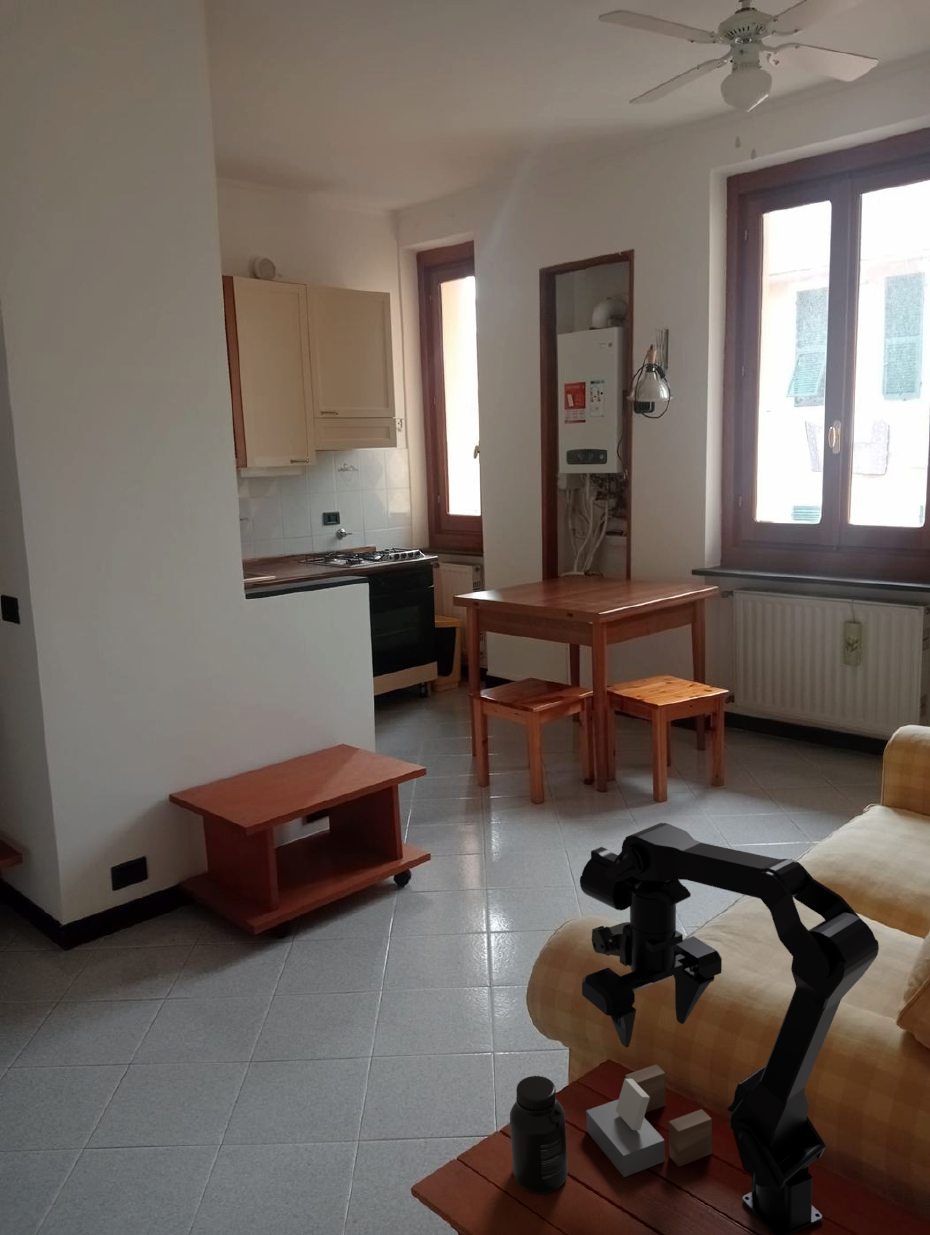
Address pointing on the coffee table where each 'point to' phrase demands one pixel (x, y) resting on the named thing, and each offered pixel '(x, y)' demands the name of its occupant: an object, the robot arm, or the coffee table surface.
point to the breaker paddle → (632, 1104)
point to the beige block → (690, 1137)
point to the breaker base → (624, 1140)
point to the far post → (651, 1085)
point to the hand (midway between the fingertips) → (653, 1033)
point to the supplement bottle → (538, 1136)
